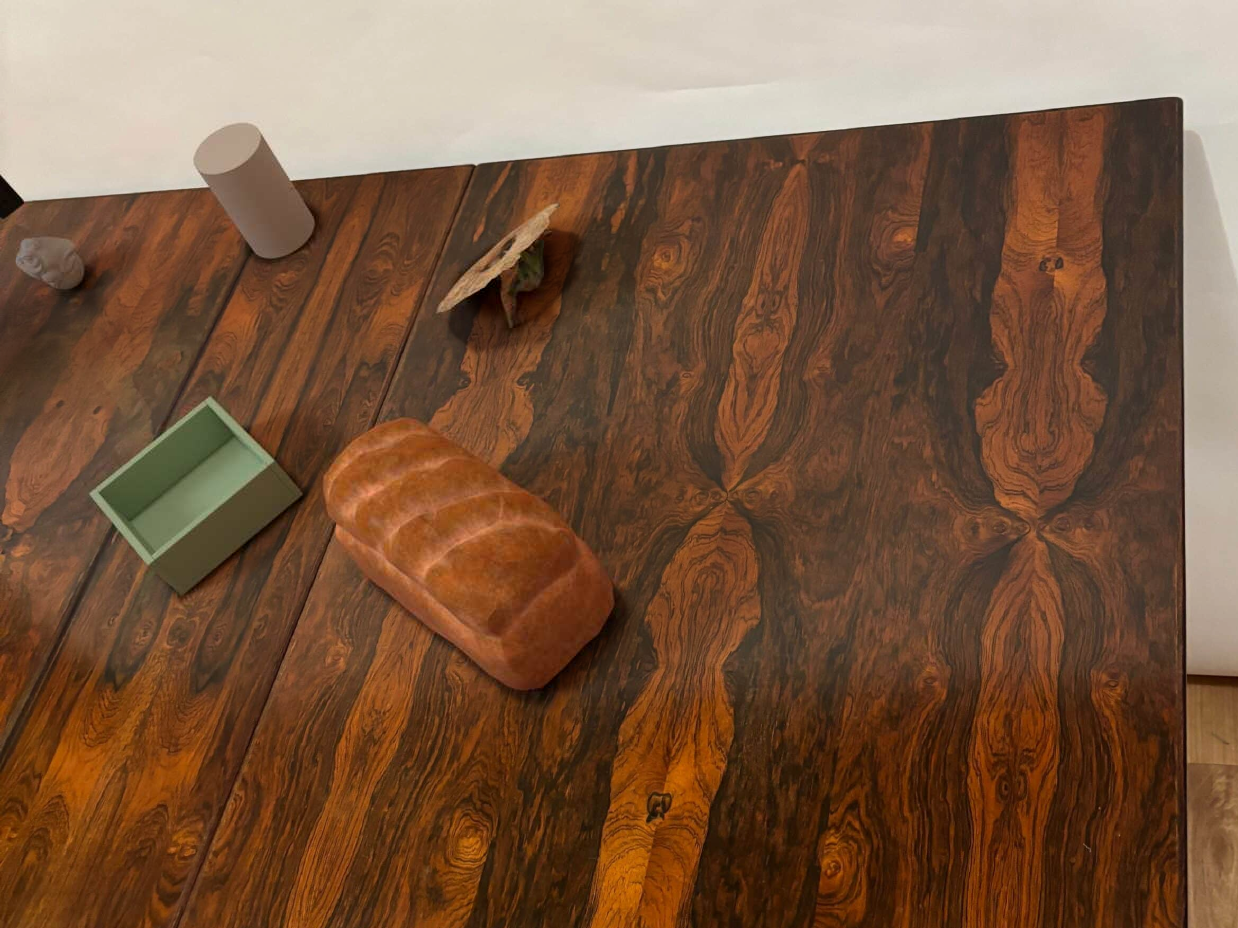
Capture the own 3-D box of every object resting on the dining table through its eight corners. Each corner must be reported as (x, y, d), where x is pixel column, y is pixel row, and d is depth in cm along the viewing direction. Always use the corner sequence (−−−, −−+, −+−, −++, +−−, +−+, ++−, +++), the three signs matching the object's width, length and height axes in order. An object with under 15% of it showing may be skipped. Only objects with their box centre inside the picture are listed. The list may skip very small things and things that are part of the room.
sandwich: (493, 298, 135) (459, 236, 131) (600, 256, 129) (568, 189, 125) (439, 372, 122) (399, 305, 118) (555, 329, 116) (517, 258, 112)
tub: (182, 595, 116) (147, 565, 111) (123, 525, 123) (88, 493, 118) (303, 494, 119) (274, 460, 114) (239, 430, 125) (209, 395, 120)
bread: (529, 713, 101) (460, 625, 87) (349, 567, 113) (264, 469, 100) (636, 599, 104) (586, 496, 90) (449, 468, 116) (380, 361, 102)
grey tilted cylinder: (326, 213, 139) (274, 126, 129) (291, 262, 136) (234, 178, 126) (275, 205, 142) (219, 119, 132) (239, 253, 140) (180, 169, 129)
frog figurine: (45, 280, 146) (5, 237, 140) (95, 256, 146) (57, 212, 140) (49, 311, 143) (8, 268, 137) (100, 286, 143) (62, 242, 137)
